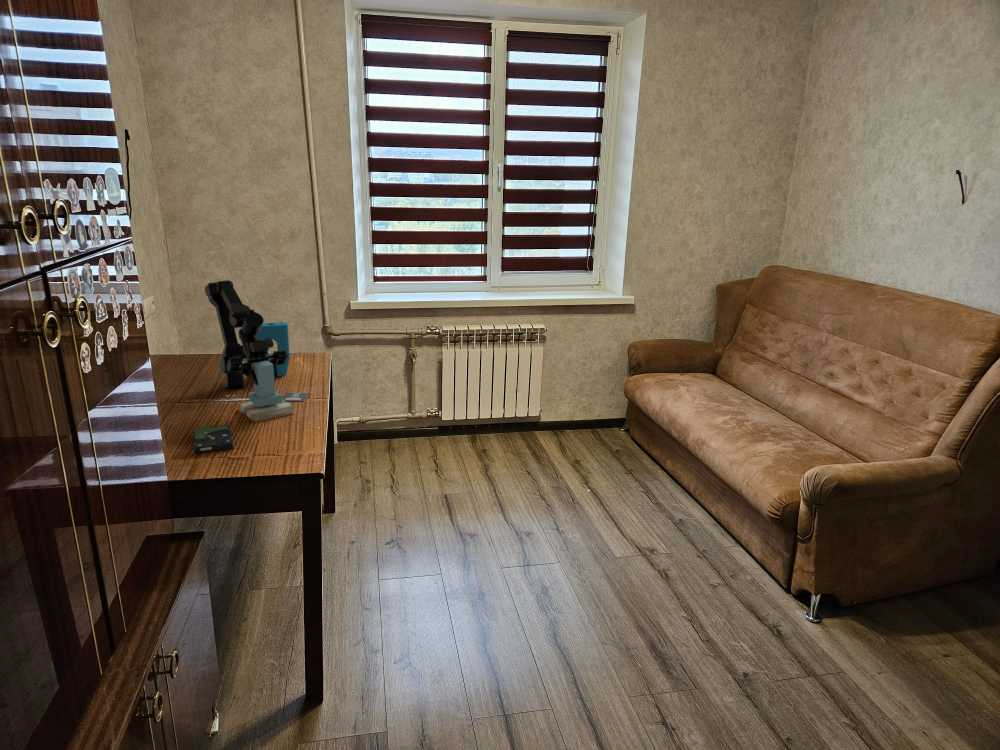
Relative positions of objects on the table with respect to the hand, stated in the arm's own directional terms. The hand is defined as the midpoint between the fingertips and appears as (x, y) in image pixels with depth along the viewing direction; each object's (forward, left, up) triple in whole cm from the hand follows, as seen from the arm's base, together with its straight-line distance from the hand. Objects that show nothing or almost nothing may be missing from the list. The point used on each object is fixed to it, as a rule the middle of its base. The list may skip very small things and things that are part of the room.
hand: (265, 383), depth 216 cm
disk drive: (+24, -9, -11) cm, 28 cm away
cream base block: (-1, -1, -11) cm, 11 cm away
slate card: (-15, +5, -10) cm, 19 cm away
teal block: (-1, -1, -7) cm, 7 cm away
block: (-41, -9, -11) cm, 43 cm away
